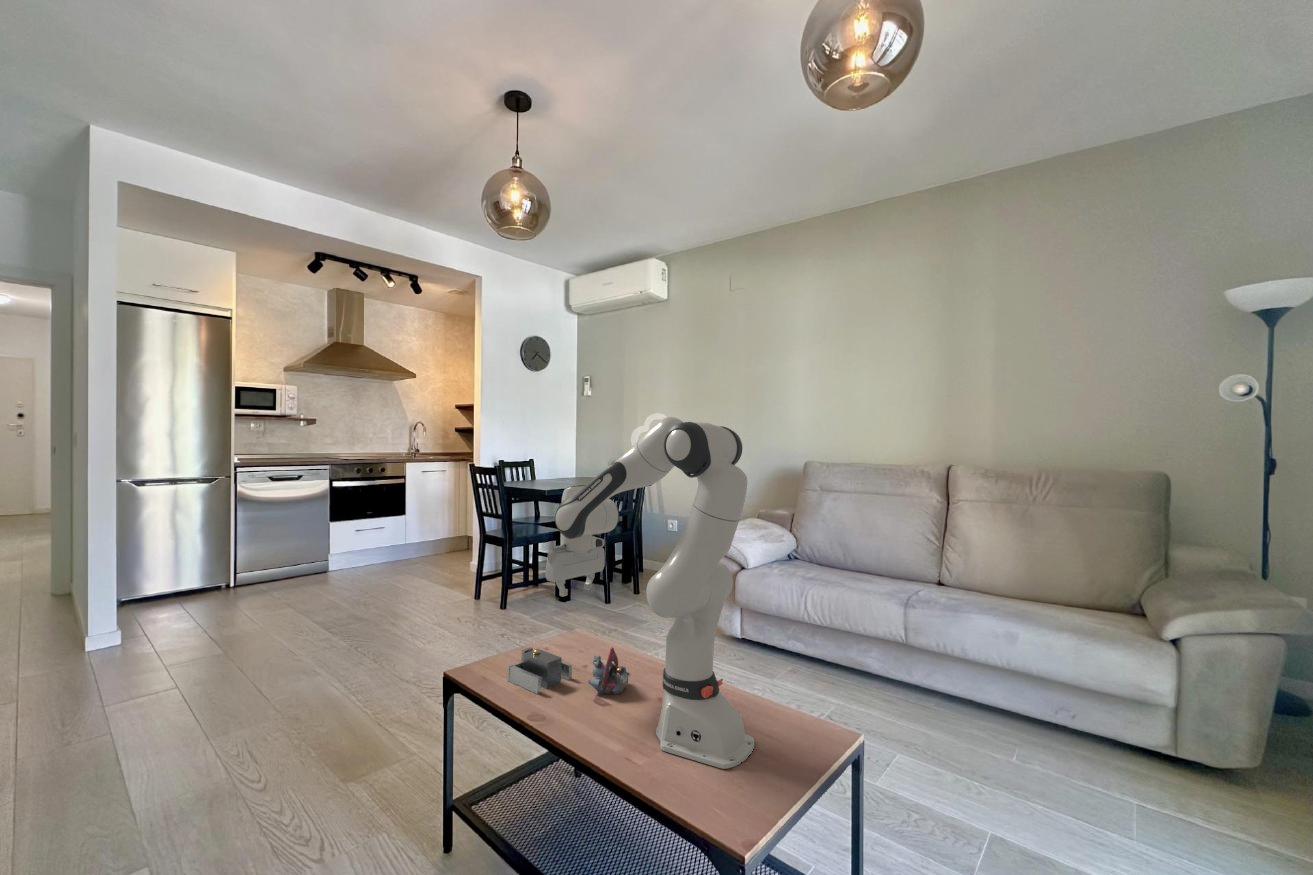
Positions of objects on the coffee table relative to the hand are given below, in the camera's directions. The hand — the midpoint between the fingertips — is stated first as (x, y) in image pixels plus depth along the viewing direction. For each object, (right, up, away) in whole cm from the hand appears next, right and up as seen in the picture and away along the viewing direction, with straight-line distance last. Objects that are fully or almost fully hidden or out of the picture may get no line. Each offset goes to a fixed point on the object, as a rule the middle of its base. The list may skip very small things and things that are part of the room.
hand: (575, 592), depth 147 cm
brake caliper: (+10, -25, -4) cm, 27 cm away
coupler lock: (-9, -24, -1) cm, 26 cm away
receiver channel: (-10, -24, -1) cm, 26 cm away
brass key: (+10, -25, +6) cm, 28 cm away
